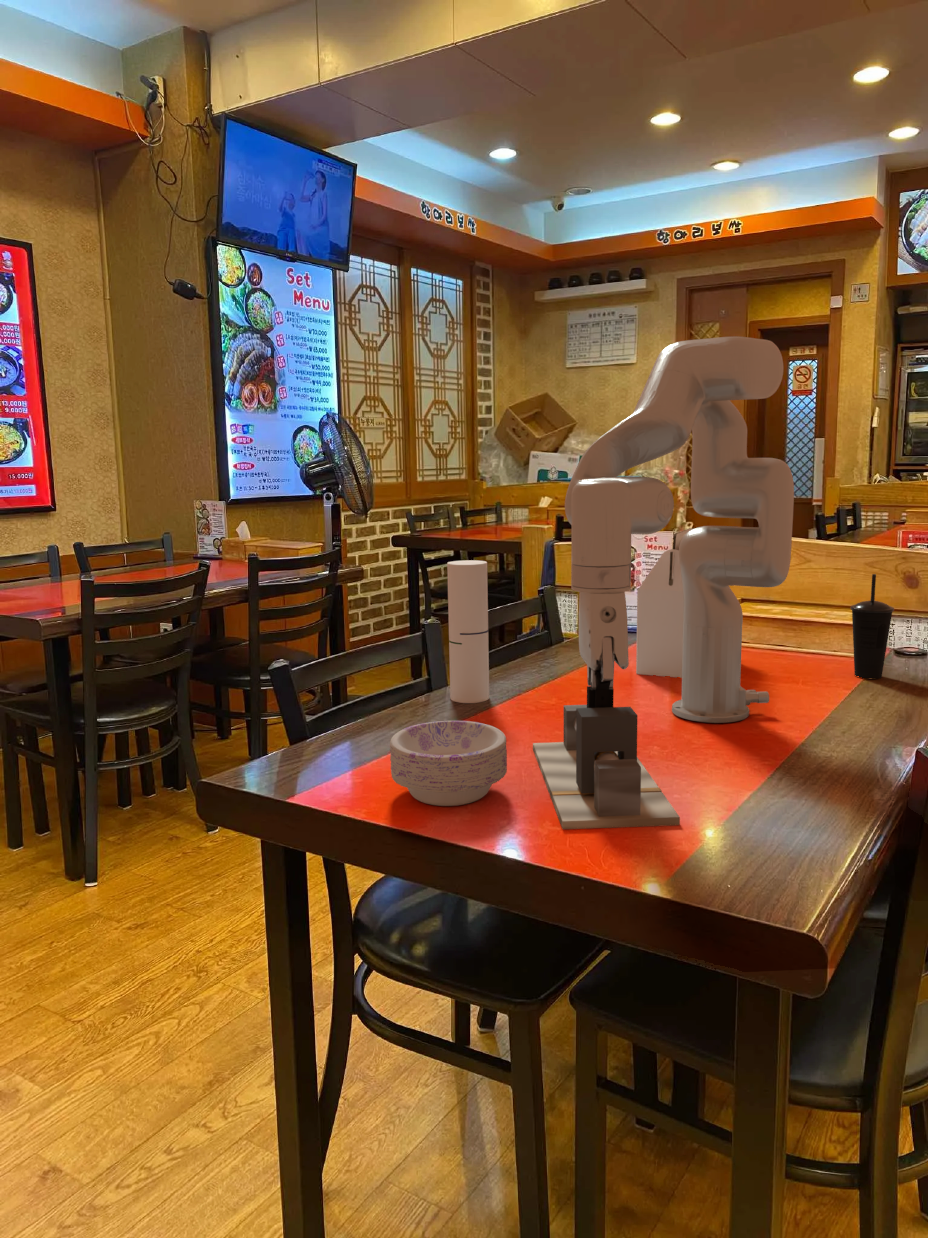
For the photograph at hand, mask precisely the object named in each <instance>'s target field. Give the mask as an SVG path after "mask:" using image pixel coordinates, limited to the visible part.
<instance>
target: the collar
mask: <svg viewBox="0 0 928 1238" xmlns="http://www.w3.org/2000/svg"><path fill="white" fill-rule="evenodd" d="M614 751H618V757H619V759H636V761H637V758H638V714H637V713H636V711H635V710H634V709H633V708H632V707H631V706H613V707H604V708H576V783H577V785H578V787H579V790H580V792H581V794H585V793H594V752H614Z"/></svg>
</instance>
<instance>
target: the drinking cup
mask: <svg viewBox="0 0 928 1238" xmlns="http://www.w3.org/2000/svg"><path fill="white" fill-rule="evenodd" d="M876 582H877V574H876V573H872V574H871V586H870V587H871V589H870V592H871V593H870V600H864V601H859V602H857V603H855V604H852V605H851V606H850V610H851V618H852V620H851V621H852V642H853V643H852V646H853V665H854V667H853V669H854V676H855V675H856V676H859V677H862V678H861V679H863V678H880V679H881V678H882V677H883V671H884V666H885V658H886V653H887V646H888V640H889V635H890V633H889V632H890V628H891V621H892V615H893V612H894V611H895V607H893V606H891V605H889V604H887V603H885V602H882V601H878V600H875V599H876V598H875V597H876V584H877V583H876ZM856 676H855V677H856Z"/></svg>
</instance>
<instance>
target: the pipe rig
mask: <svg viewBox="0 0 928 1238" xmlns="http://www.w3.org/2000/svg"><path fill="white" fill-rule="evenodd" d="M576 708H587V704H571V705H570V704H568V705H563V741H557V742H555V741H554V742H532V750H533V754H534V756H535V759H536V761H537V763H538V764H537V765H538V767H539V770H540V773H541V775H542V778H543V780H544V784H545V786H546V789H547V791H548V794H549V797H550V799H551V802H552V805H553V807H554V810H555V812H556V816H557V818H558V821H559V823H560V826H561V829H562V830H579V829H580V830H581V829H607V828H608V829H611V828H635V827H663V826H680V825H681V821H680V820H681V817H680V815H679V814H678V813H677V811H676V809H675V808H674V806H672V803H670V802H669V800H668V798H667V797H666V795H665V794H664V793H663V791H662V789H661V788H660V787H659V786H658V784H657V783H656V781H655V780H654V779H653V777H652V776H651V774H650V773H649V771H648V770H647V769H646V767H645V766H644V764H643V763H642V761H640V759H639V758H638V757H637V761H636V759H619V757H618V751H614V752H594V793H585V794H581V792H580V790H579V787H578V785H577V783H576Z"/></svg>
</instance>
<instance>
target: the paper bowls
mask: <svg viewBox="0 0 928 1238" xmlns="http://www.w3.org/2000/svg"><path fill="white" fill-rule="evenodd" d="M507 750H508V749H507V737H506V735H505V733H504V732H503V731H502V730H500V729H499V728H497V727H495V726H493V725H490V724H488V723H487V724H485V723H482V722H478V721H470V720H438V721H437V720H435V721H430V722H428V721H427V722H423V723H418V724H414V725H410V726H408V727H407V726H406V727H405V728H403V729H401V730H399V731H397V732H396V733H395V734H393V736H392V737H391V739H390V741H389V751H390V753H389V754H390V757H389V758H390V773H391V778H392V780H393V781H394V783H396V784H397V785H400V786H401V787H403V788H407V790H408V792H409V793H410V795H411V796H412V797H413V798H414V799H415V800H417V801H418V802H421V803H423V804H427V805H432V806H437V807H438V806H439V807H455V806H462V805H468V804H471V803H473V802H476V801H479V800H480V799H483V798H484V797H485V796H486V795H487V794H488V793H489V792H490V789H491V787H492V785H494V784H496V783H498V782H499V781H501V780H502V779H503V778H504V777H505V775H506V774H507V772H508V771H507V770H508V757H507V756H508V755H507V752H508V751H507Z"/></svg>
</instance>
